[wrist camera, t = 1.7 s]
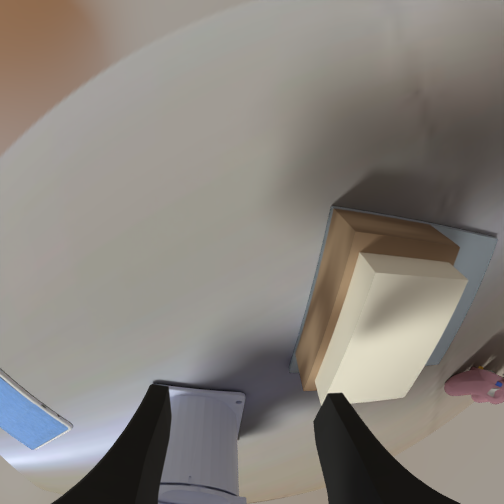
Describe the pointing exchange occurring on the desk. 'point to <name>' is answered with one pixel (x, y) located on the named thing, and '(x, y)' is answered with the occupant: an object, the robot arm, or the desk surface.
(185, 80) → the desk surface
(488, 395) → the video game controller
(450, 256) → the brown wooden block
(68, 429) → the tablet computer
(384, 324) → the cream rectangular block
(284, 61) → the desk surface
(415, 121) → the desk surface
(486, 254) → the mat
